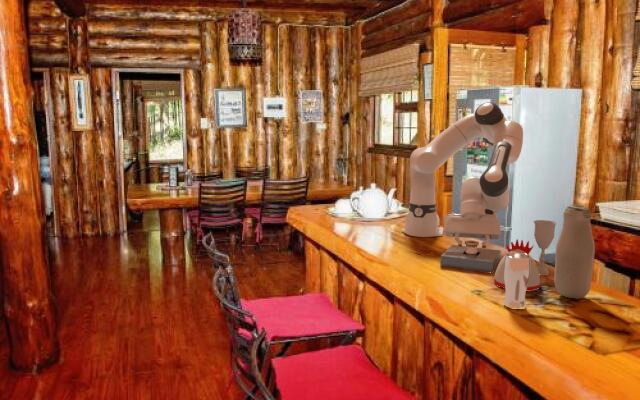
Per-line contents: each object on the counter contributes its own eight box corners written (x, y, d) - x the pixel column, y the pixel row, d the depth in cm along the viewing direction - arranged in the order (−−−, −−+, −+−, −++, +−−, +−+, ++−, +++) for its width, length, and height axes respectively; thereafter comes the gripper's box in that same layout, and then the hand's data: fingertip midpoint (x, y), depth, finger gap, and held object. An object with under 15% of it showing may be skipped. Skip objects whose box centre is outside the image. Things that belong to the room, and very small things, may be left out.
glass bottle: (594, 297, 159) (602, 205, 155) (582, 305, 152) (591, 209, 147) (559, 289, 166) (567, 201, 162) (547, 297, 159) (554, 205, 154)
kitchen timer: (535, 295, 161) (538, 247, 159) (489, 287, 168) (491, 241, 166) (543, 282, 173) (546, 238, 170) (500, 276, 180) (502, 232, 178)
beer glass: (497, 302, 154) (500, 252, 152) (520, 301, 155) (524, 251, 152) (508, 311, 147) (511, 258, 145) (532, 310, 148) (535, 258, 146)
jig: (452, 254, 206) (452, 244, 206) (500, 260, 198) (501, 250, 198) (440, 266, 191) (440, 255, 190) (492, 273, 182) (493, 262, 182)
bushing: (465, 260, 198) (466, 239, 196) (478, 262, 196) (480, 241, 194) (462, 264, 194) (463, 242, 192) (476, 266, 191) (477, 244, 190)
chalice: (552, 271, 185) (556, 221, 182) (553, 277, 178) (557, 224, 176) (529, 269, 187) (533, 219, 184) (530, 275, 181) (534, 223, 178)
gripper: (444, 209, 200) (442, 240, 193) (500, 211, 196) (502, 243, 188) (443, 218, 205) (442, 249, 198) (498, 221, 201) (500, 252, 193)
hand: (471, 246), depth 193 cm, fingers open, 7 cm apart
